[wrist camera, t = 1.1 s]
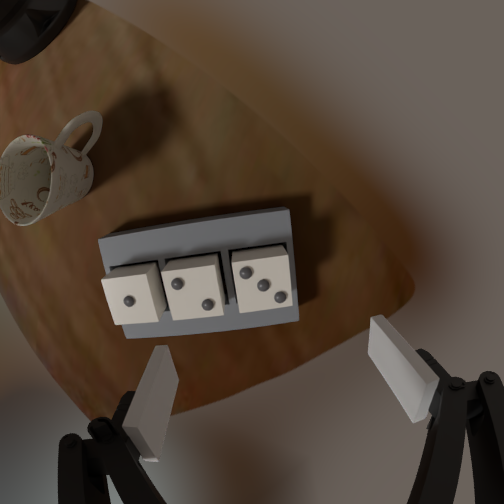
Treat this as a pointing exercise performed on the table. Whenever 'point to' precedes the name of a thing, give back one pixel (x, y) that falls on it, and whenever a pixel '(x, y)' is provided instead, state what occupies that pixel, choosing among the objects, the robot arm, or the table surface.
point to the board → (204, 241)
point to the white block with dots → (262, 278)
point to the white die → (194, 287)
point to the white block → (135, 294)
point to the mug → (45, 173)
